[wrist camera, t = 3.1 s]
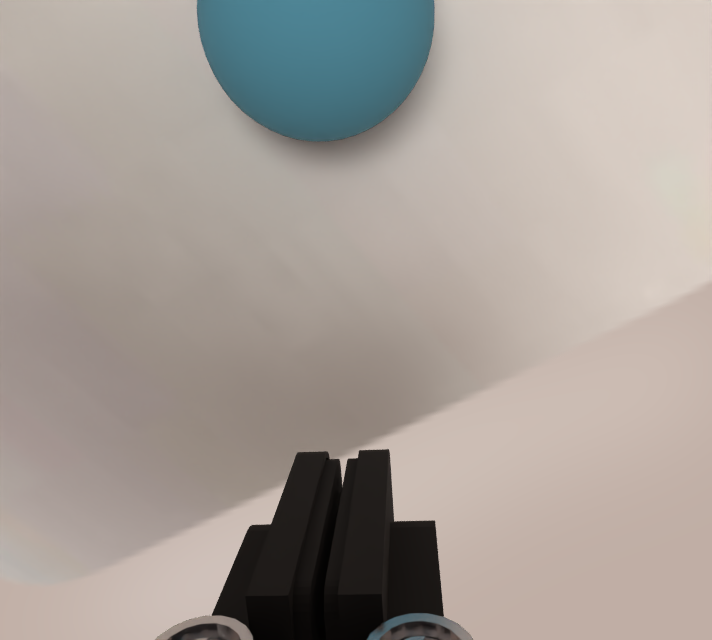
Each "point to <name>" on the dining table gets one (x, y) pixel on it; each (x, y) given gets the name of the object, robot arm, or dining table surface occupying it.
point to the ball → (317, 60)
